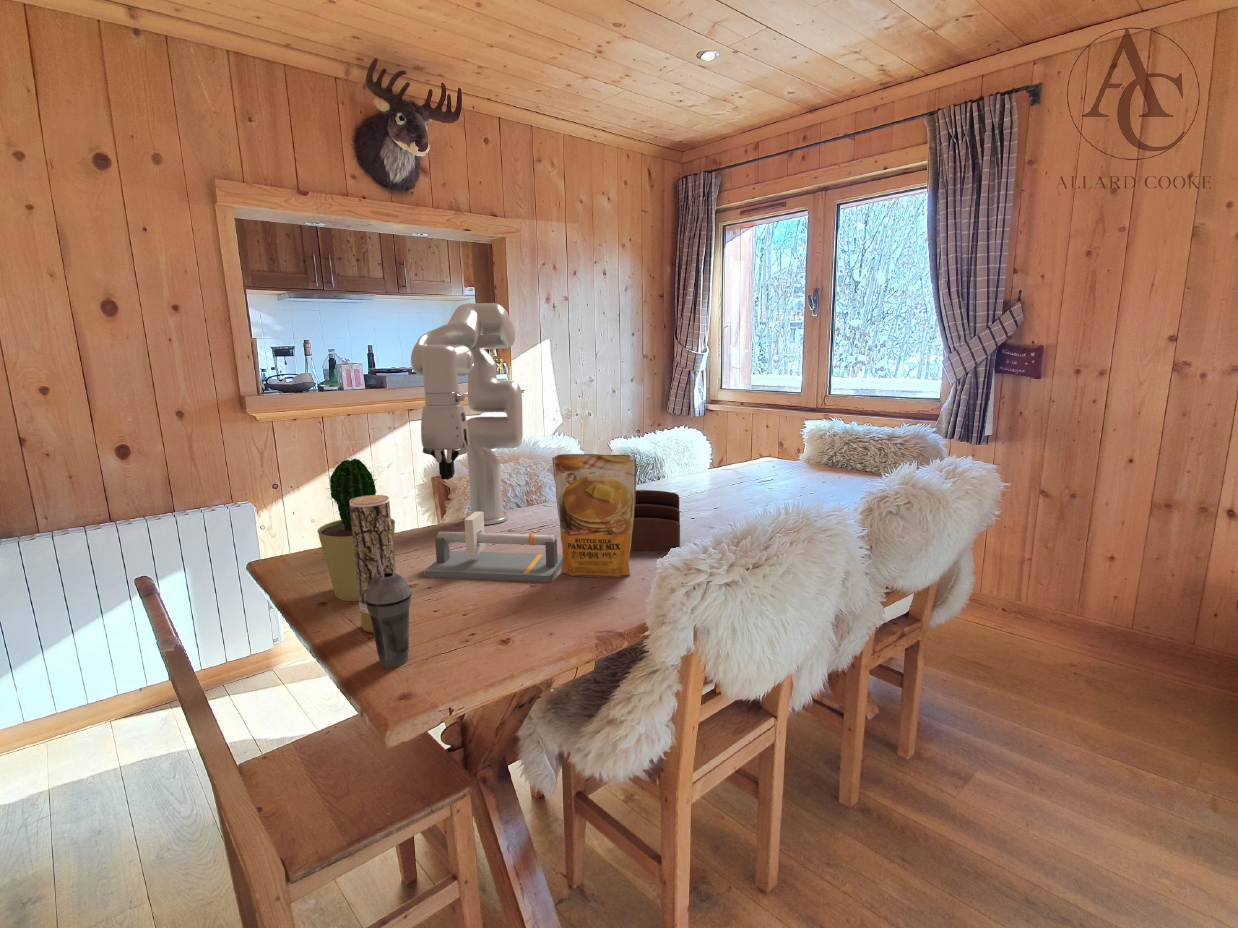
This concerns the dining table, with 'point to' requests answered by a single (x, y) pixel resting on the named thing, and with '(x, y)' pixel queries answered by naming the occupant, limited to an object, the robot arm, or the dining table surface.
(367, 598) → the beverage cup
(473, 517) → the collar
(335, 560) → the potted cactus
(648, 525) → the letter holder
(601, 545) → the pancake mix bag
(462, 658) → the dining table surface
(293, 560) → the dining table surface
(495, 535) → the pipe rig
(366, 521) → the bark wrapped tube
